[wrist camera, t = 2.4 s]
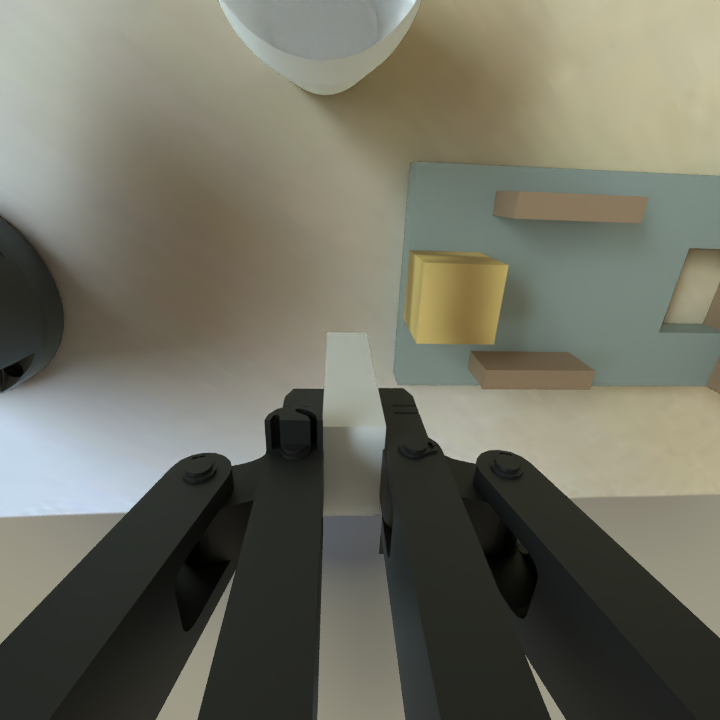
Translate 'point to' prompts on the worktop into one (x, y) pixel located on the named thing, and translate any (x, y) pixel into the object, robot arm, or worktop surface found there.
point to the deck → (567, 275)
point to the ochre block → (453, 297)
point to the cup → (321, 37)
